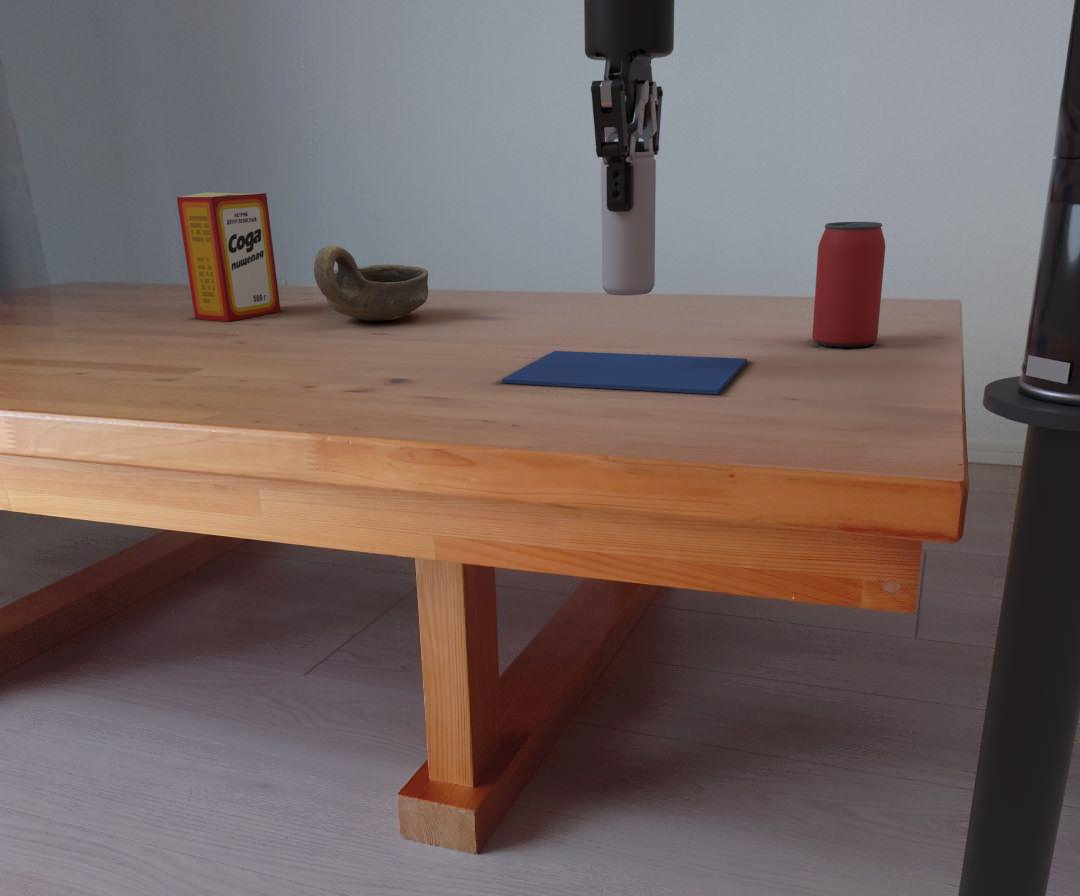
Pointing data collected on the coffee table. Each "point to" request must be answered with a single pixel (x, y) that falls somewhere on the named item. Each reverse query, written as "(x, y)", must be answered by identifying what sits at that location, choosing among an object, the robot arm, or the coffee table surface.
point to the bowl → (369, 286)
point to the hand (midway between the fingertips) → (628, 208)
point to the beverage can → (630, 233)
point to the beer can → (848, 284)
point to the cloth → (630, 372)
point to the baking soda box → (229, 255)
